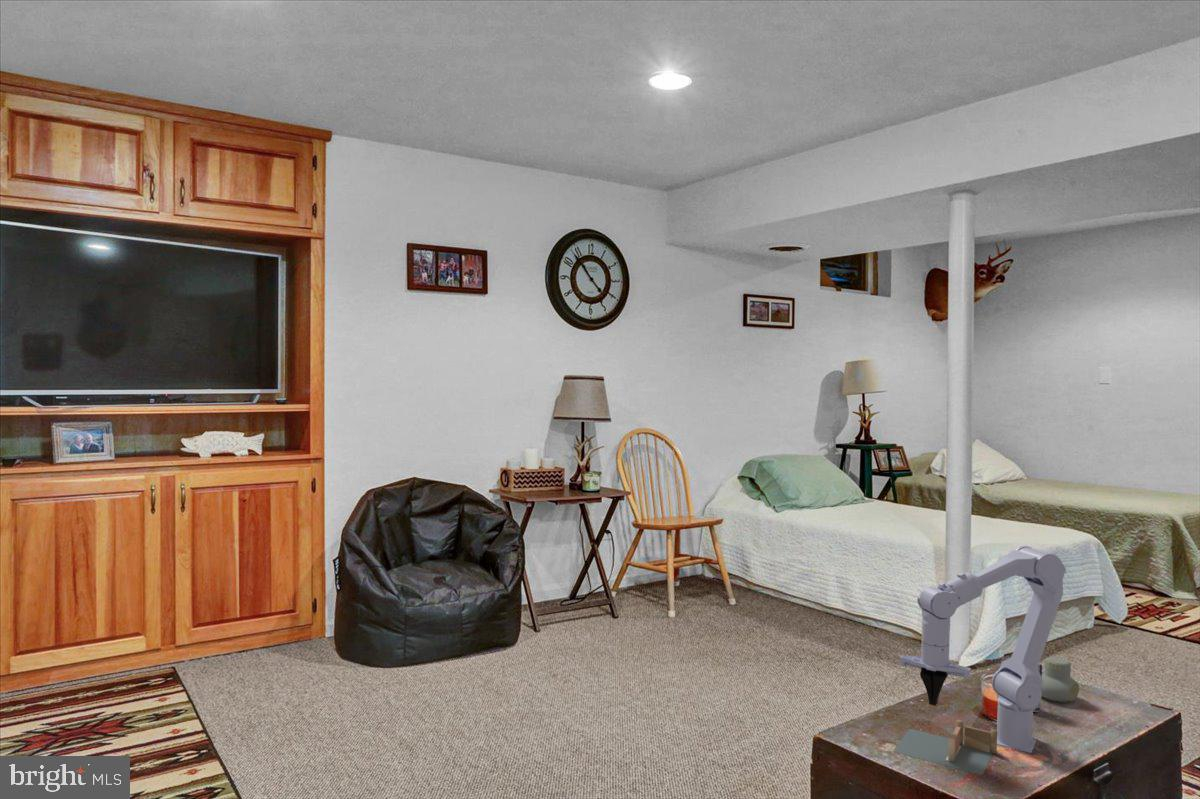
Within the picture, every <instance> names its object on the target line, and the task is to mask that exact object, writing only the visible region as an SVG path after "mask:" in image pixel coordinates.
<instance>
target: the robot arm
mask: <svg viewBox="0 0 1200 799" xmlns="http://www.w3.org/2000/svg"><path fill="white" fill-rule="evenodd" d="M1066 572H1067V568H1066V567H1065V565H1064V563H1063V561H1062V560H1061V558H1060V557H1059V556H1057V554H1054V553H1049V552H1045V551H1042V550H1039V549H1036V548H1033V547H1031V546H1027V545H1023V546H1019V547H1018V548H1016V549H1014V550H1013V549H1012V550H1010V551H1009V553H1008V554H1007V555H1005V556H1004V557H1003V558H1001V559H999V560H997V561H996V562H994V563H992V564H991V565H988V566H987V567H985V568H983V569H982V570H980V571H978V572H976V573H975V574H973V573H971V572H959V573H957V574H956V577H953V578H952V579H950V580H948V581H946V582H940V583H939V584H938V585H937V587H936V586H928V587H925V588H924V589H923V590H922V591H921V592H920V595H919V597H917V600H916V601H917V604H918V606H919V608H920V609H921V616H922V617H921V618H922V619H921V621H922V623H921V627H922V628H921V645H920V646H921V650H920V653H921V654H920V656H913V655H906V654H905V655H904V654H901V656H900V657H899V666H901V667H910V668H915V669H919V670H920V671H919V672H920V673H919V677H920V678H921V680H922V682H923V685H924V687H925V690H926V694H927V698H928V703H929V704H928V705H931V706H934V707H935V706H937V705H938V703H939V697H940V693H941V691H942V688H943V686H944V683H945V682H946V680H947V679H948V678H947V677H948V676H949V675H951V676H956V677H961V678H963V679H965V680H969V679H971V676H972V675H971V673H972V672H971V671H972V669H971V667H967V666H965V665H960V664H957V663H954V662H950V636H951V635H950V634H951V617H952V616H954V615H955V613H956V611H957V609H958V608H960V607H961V606H963V605H965V604H968V603H969V602H972V601H973V600H976V599H977V598H979V597H981V596H982V594H983V590H984V589H985V588H988V587H990V586H994V584H997V583H1000V582H1002V581H1005V580H1007V579H1009V578H1012V577H1014V576H1015V577H1016V576H1017V577H1023V578H1024V579H1025V580H1026V581H1027V583H1028V585H1029V586H1030V588H1031V590H1032V591H1033V593H1032V597H1031V600H1030V603H1029V605H1028V609H1027V612H1026V614H1025V617H1024V619H1023V620H1024V621H1023V623H1022V625H1021V628H1020V631H1019V635H1018V638H1017V640H1016V644H1015V646H1014V649H1013V652H1012V654H1011V657H1009V658H1007V659H1005V660H1003V661H1002V662H1001V664H1000V667H999V668H998V670H996V672H995V673H994V674H993V676H992V678H991V686H992V689H993V691H994V692H995V693H996V699H997V715H996V716H997V720H996V731H997V746H1000V747H1004V748H1008V749H1013V750H1017V751H1020V752H1024V753H1029V754H1031V753H1033V750H1034V747H1035V745H1036V742H1037V739H1038V738H1037V736H1036V737H1035V736H1033V727H1034V713H1033V710H1035V707H1037V706H1038V704H1039V703H1040V701H1041V702H1042V697H1043V696H1042V693H1041V686H1042V683H1043V679H1042V677H1041V675H1040V673H1039V670H1038V665H1039V662H1041V659H1042V657H1043V653H1044V651H1045V648H1046V644H1047V642H1048V639H1049V637H1050V636H1049V635H1050V633H1051V631H1052V627H1053V624H1054V621H1055V619H1056V616H1057V612H1058V610H1059V607H1060V604H1061V602H1062V598H1063V596H1064V583H1063V582H1064V580H1063V579H1064V577H1065V573H1066Z"/></svg>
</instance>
